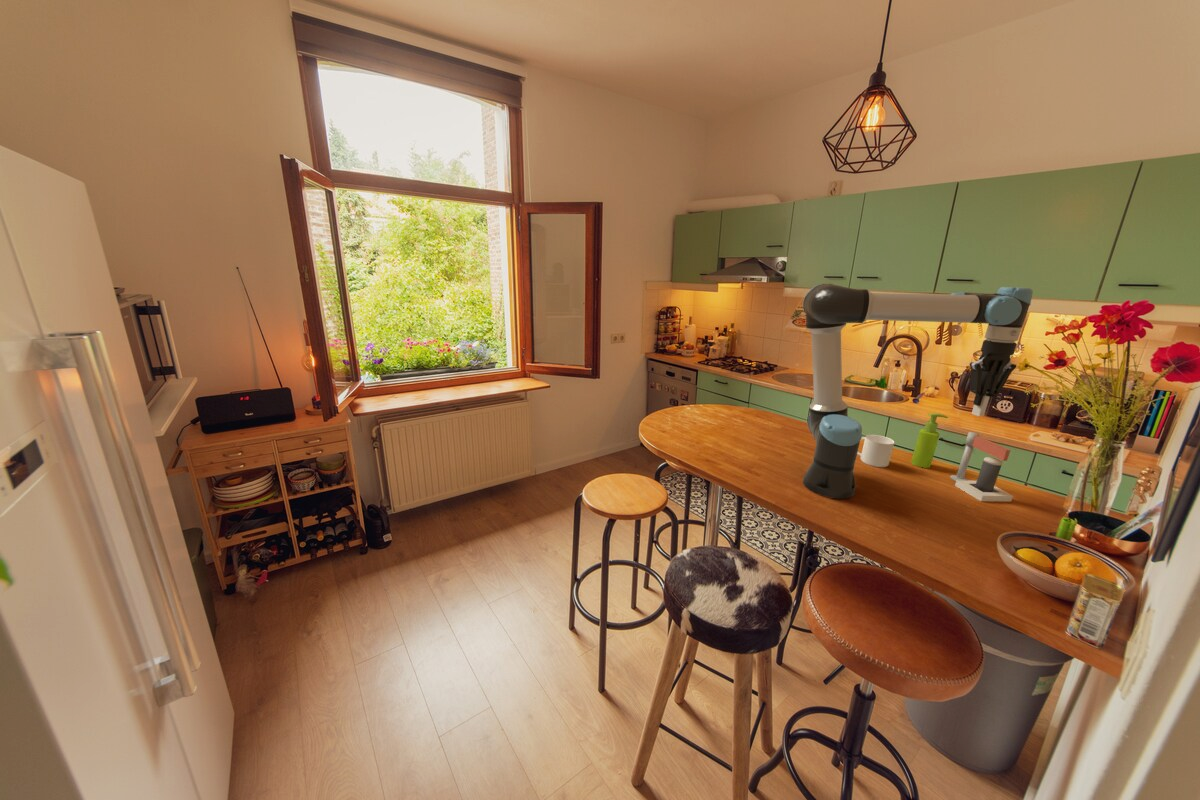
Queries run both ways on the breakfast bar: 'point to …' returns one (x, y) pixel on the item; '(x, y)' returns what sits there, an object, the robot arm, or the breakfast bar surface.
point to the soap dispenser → (926, 443)
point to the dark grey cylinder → (988, 474)
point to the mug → (876, 450)
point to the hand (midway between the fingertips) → (977, 415)
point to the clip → (987, 446)
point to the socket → (970, 485)
